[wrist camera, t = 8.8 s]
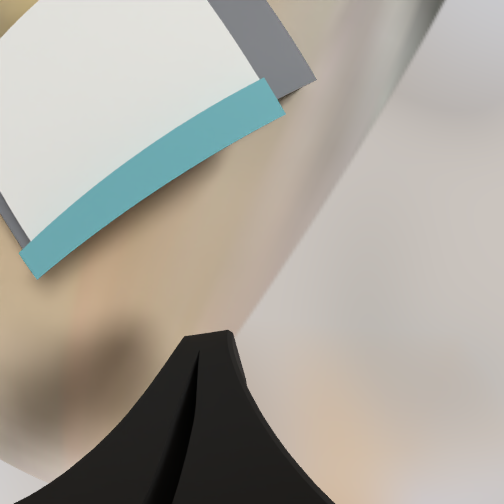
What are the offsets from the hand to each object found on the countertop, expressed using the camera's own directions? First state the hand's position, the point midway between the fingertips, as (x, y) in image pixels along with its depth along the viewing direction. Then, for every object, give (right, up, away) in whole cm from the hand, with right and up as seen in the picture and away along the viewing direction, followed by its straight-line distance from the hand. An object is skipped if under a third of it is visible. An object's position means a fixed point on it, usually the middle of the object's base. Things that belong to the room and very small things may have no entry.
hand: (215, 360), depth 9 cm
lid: (-5, +9, +1) cm, 10 cm away
